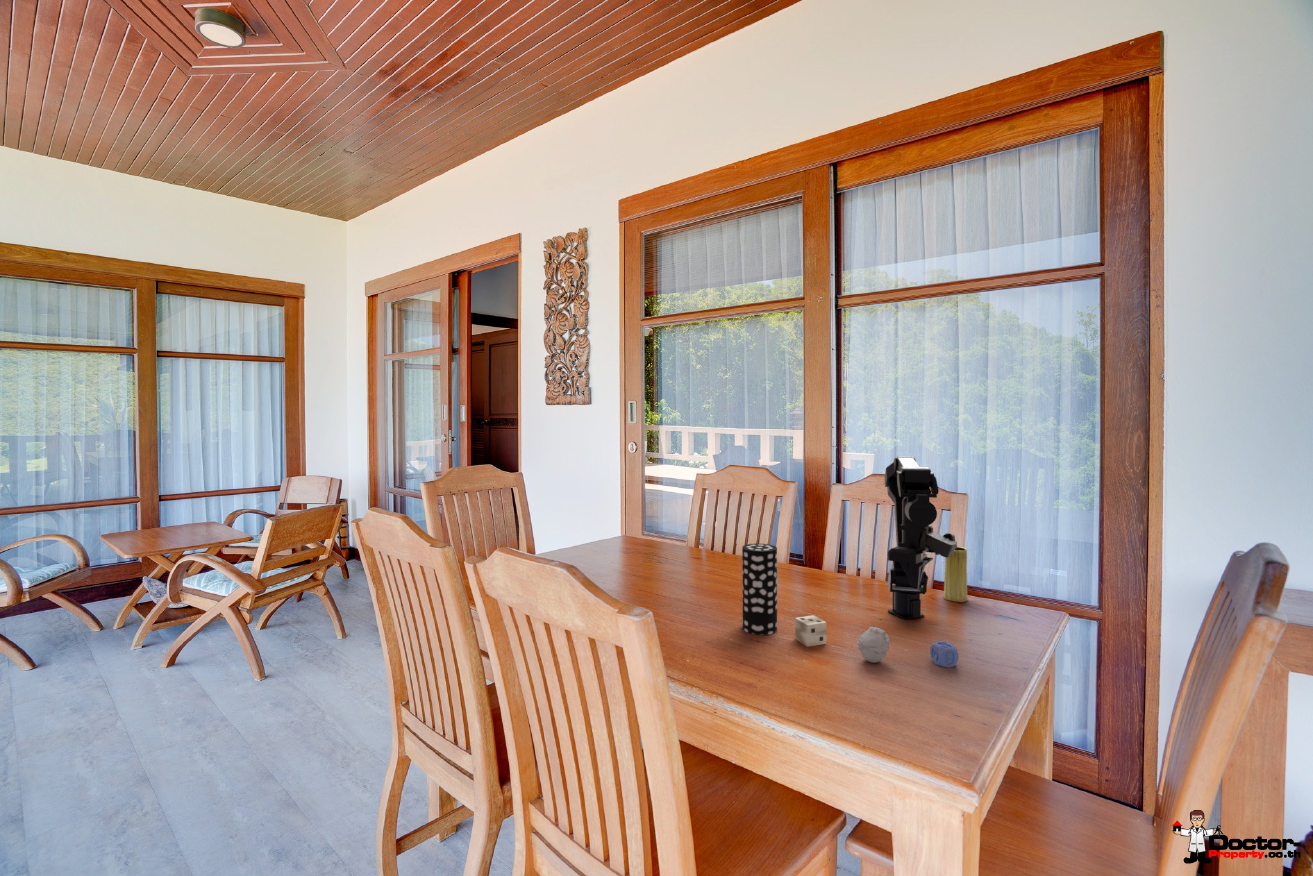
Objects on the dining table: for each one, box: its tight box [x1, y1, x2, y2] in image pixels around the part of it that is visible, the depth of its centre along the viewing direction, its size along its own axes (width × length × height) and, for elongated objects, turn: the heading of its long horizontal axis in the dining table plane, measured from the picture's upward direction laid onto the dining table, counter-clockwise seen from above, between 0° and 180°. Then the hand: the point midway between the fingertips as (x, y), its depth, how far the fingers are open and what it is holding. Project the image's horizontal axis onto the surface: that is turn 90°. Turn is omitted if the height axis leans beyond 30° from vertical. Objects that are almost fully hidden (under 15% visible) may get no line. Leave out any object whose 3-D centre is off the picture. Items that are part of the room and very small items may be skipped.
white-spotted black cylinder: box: [741, 543, 778, 636], centre depth 142 cm, size 8×8×20 cm
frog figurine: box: [857, 626, 891, 664], centre depth 123 cm, size 6×7×7 cm
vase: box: [942, 546, 969, 603], centre depth 163 cm, size 6×6×14 cm
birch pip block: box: [794, 614, 827, 648], centre depth 134 cm, size 5×5×5 cm
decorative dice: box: [929, 640, 960, 668], centre depth 122 cm, size 4×4×4 cm
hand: (915, 588), depth 136 cm, fingers closed
